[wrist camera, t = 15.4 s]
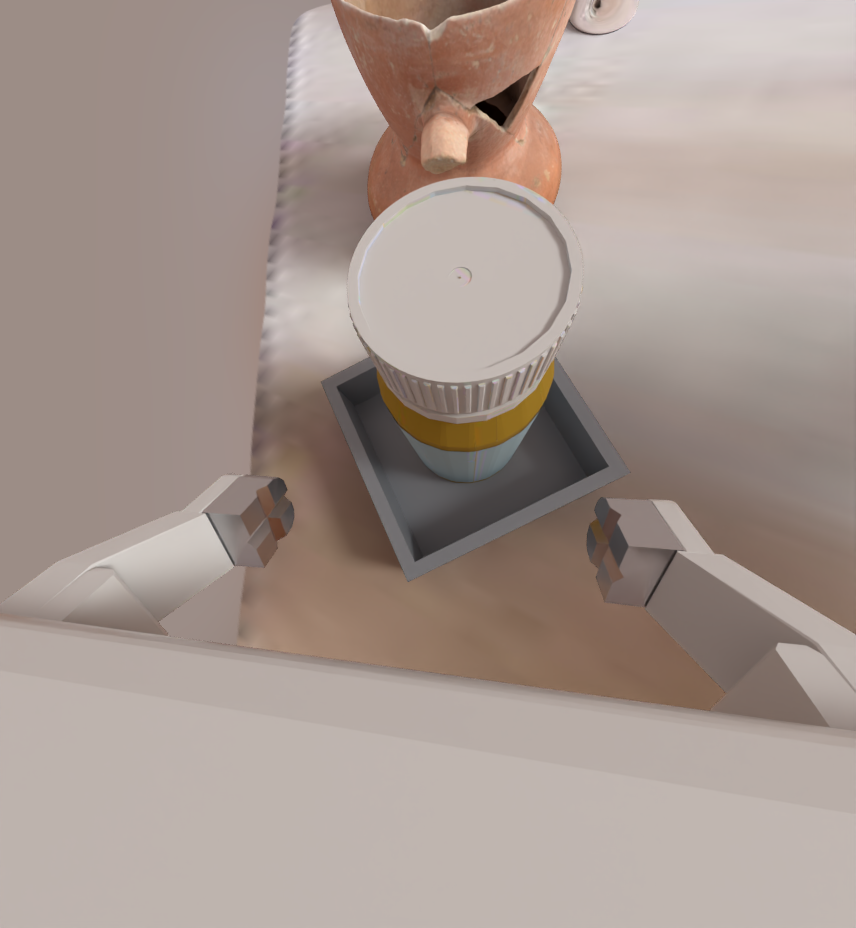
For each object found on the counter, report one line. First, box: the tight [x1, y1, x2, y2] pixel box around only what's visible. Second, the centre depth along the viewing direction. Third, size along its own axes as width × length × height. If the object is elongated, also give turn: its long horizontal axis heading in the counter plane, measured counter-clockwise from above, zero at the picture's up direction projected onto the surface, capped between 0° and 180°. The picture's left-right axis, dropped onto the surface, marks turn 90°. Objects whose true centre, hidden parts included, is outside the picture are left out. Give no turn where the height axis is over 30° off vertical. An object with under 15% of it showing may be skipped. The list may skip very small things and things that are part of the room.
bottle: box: [347, 177, 584, 483], centre depth 16 cm, size 7×7×15 cm
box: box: [321, 357, 630, 582], centre depth 22 cm, size 14×14×4 cm
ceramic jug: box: [331, 0, 576, 220], centre depth 21 cm, size 18×14×14 cm
